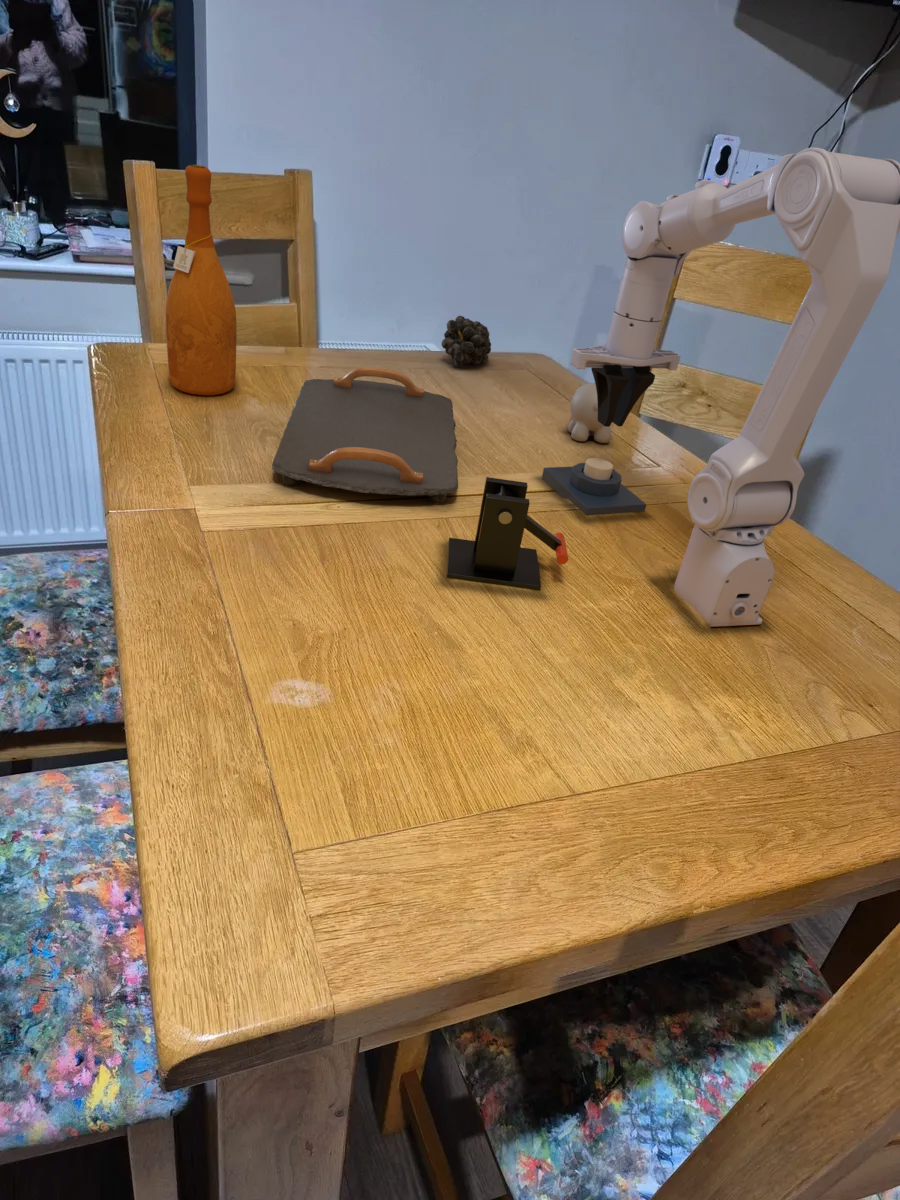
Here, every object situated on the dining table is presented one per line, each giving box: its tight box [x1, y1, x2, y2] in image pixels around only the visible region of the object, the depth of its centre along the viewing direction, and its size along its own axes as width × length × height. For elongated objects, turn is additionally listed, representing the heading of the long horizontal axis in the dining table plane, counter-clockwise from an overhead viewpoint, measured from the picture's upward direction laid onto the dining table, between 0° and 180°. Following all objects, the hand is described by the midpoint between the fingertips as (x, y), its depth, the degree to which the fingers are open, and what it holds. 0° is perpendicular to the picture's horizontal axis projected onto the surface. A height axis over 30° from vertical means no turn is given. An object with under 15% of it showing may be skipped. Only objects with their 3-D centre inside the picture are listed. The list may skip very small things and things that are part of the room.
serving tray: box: [271, 366, 459, 505], centre depth 113 cm, size 39×23×6 cm, turn 1°
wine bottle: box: [165, 164, 237, 396], centre depth 117 cm, size 10×10×30 cm
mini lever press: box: [446, 476, 542, 591], centre depth 88 cm, size 10×8×10 cm
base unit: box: [541, 462, 647, 516], centre depth 110 cm, size 12×9×4 cm
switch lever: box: [494, 486, 569, 565], centre depth 88 cm, size 10×5×2 cm
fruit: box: [441, 315, 492, 368], centre depth 153 cm, size 9×8×15 cm
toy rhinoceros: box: [567, 378, 612, 444], centre depth 130 cm, size 7×12×8 cm, turn 1°
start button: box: [583, 457, 614, 480], centre depth 109 cm, size 4×4×2 cm
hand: (609, 423), depth 106 cm, fingers closed
